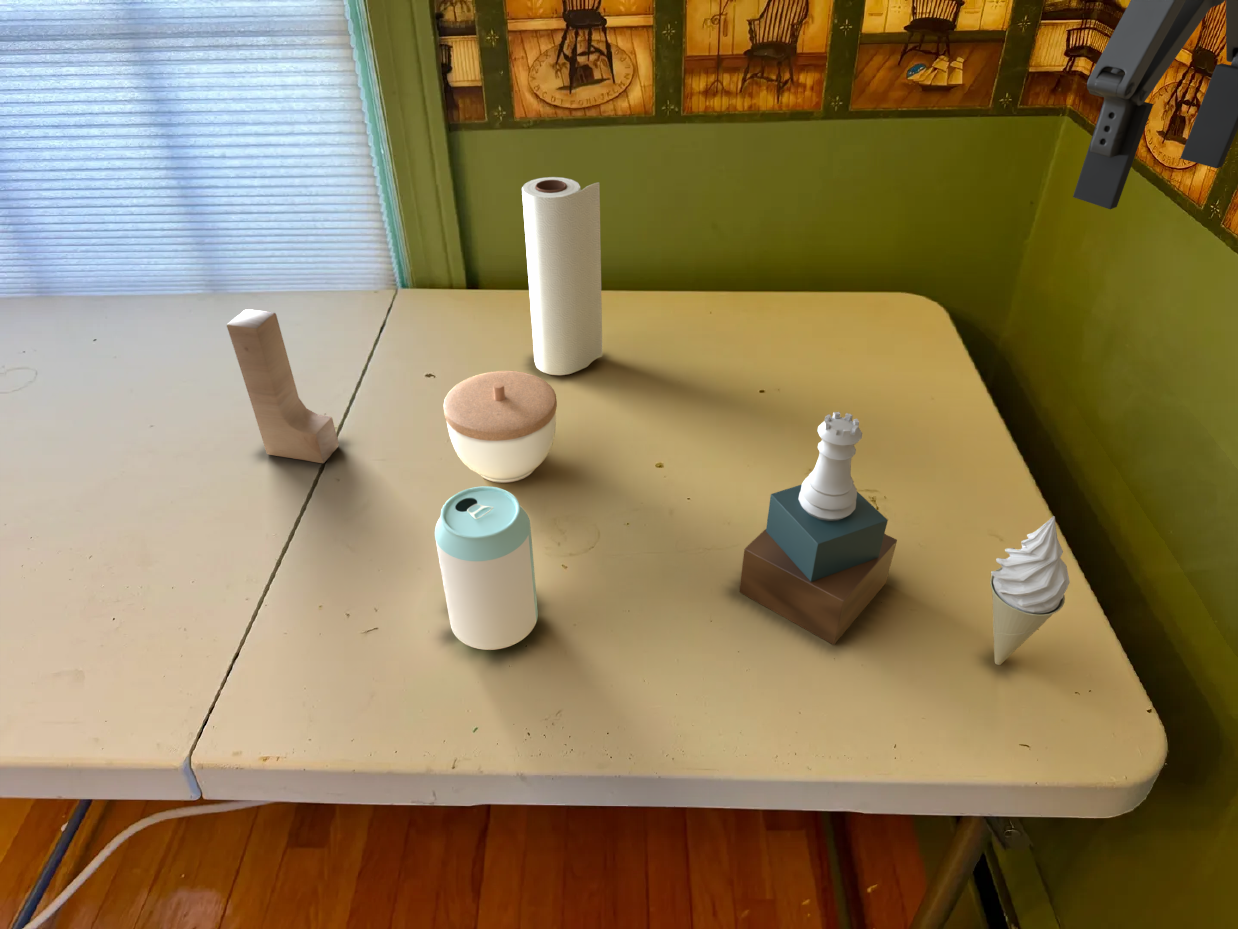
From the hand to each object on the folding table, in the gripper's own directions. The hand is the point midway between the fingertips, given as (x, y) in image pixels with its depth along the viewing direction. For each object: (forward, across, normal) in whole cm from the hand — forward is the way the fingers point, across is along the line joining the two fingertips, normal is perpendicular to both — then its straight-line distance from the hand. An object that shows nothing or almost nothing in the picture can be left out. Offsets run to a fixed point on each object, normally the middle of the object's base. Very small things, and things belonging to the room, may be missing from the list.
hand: (1150, 181), depth 61 cm
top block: (+27, +22, -5) cm, 35 cm away
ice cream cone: (+32, +16, +9) cm, 37 cm away
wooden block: (+32, +51, -49) cm, 78 cm away
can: (+32, +46, -17) cm, 59 cm away
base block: (+32, +22, -5) cm, 39 cm away
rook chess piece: (+23, +22, -5) cm, 32 cm away
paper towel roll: (+32, +20, -48) cm, 61 cm away
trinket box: (+32, +35, -35) cm, 59 cm away
